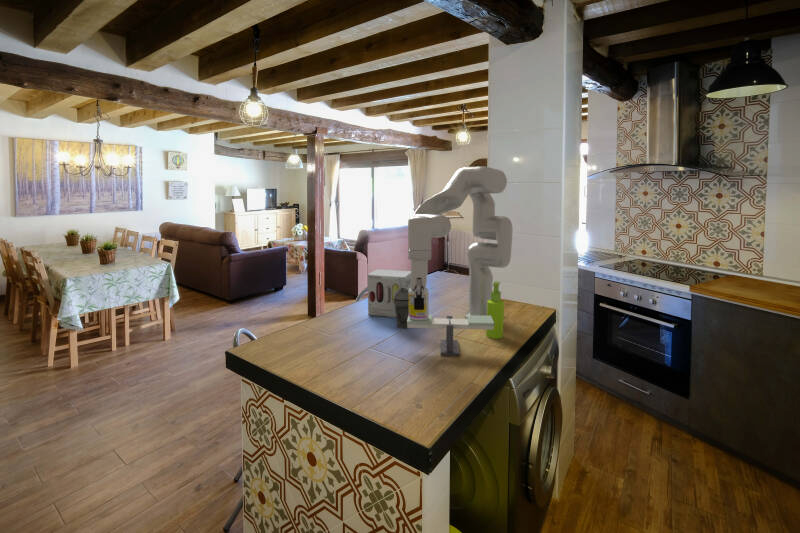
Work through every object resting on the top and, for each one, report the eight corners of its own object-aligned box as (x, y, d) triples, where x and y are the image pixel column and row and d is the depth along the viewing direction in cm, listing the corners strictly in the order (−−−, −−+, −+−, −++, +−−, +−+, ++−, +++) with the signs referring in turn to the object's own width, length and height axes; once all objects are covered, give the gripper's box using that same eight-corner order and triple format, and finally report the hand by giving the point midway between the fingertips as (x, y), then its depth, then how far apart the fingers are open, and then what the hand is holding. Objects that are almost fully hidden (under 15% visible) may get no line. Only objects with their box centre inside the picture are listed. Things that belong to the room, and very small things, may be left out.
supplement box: (367, 315, 177) (366, 274, 174) (377, 307, 190) (377, 268, 186) (405, 318, 172) (405, 276, 169) (414, 310, 185) (414, 270, 181)
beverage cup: (410, 330, 158) (410, 279, 154) (391, 329, 159) (391, 278, 156) (413, 324, 165) (413, 275, 161) (395, 323, 166) (395, 274, 163)
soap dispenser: (503, 333, 154) (505, 281, 150) (501, 339, 147) (504, 285, 144) (487, 331, 156) (489, 280, 152) (485, 337, 149) (486, 284, 146)
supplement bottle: (415, 314, 142) (415, 277, 140) (432, 317, 139) (432, 280, 136) (404, 319, 137) (404, 281, 135) (421, 322, 133) (421, 283, 131)
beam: (490, 322, 140) (491, 315, 140) (493, 330, 132) (494, 323, 132) (408, 321, 143) (408, 314, 142) (407, 328, 135) (407, 321, 135)
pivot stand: (457, 342, 145) (458, 315, 143) (459, 356, 133) (459, 326, 131) (440, 342, 145) (440, 315, 143) (440, 355, 134) (440, 326, 132)
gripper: (410, 250, 143) (410, 298, 146) (406, 258, 126) (406, 313, 129) (431, 250, 142) (431, 299, 145) (430, 259, 125) (430, 313, 128)
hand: (419, 305), depth 137 cm, fingers open, 9 cm apart
